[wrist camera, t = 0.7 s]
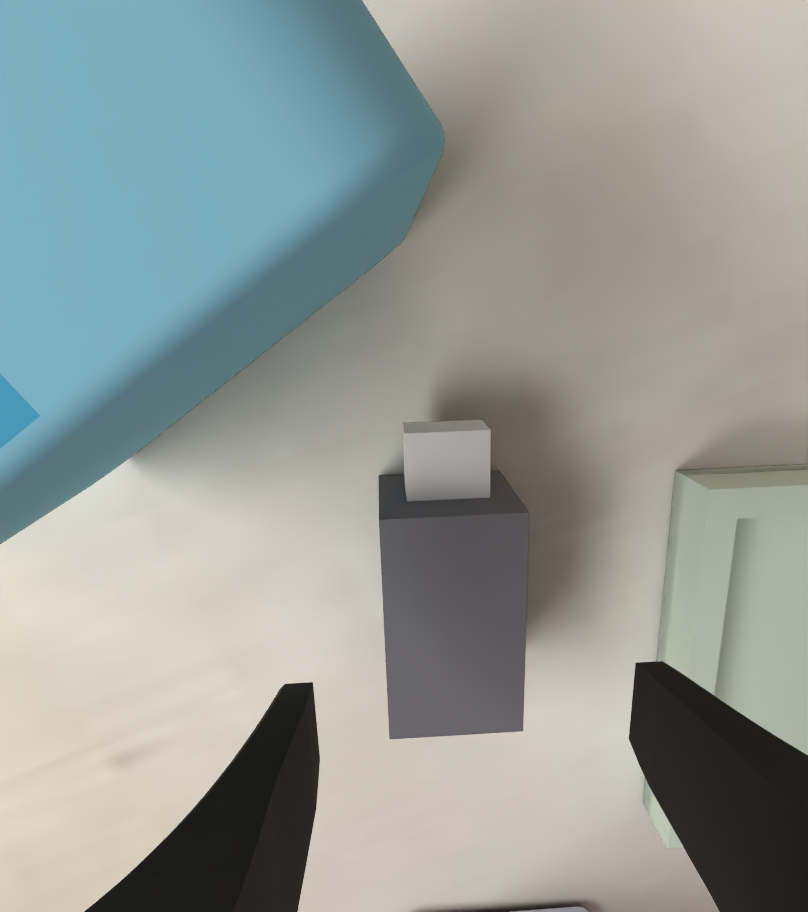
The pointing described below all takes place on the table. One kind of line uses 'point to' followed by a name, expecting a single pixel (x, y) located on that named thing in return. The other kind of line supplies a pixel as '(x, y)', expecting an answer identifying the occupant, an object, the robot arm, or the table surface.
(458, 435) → the plug
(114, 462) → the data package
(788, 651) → the tray
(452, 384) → the table surface
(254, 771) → the robot arm
